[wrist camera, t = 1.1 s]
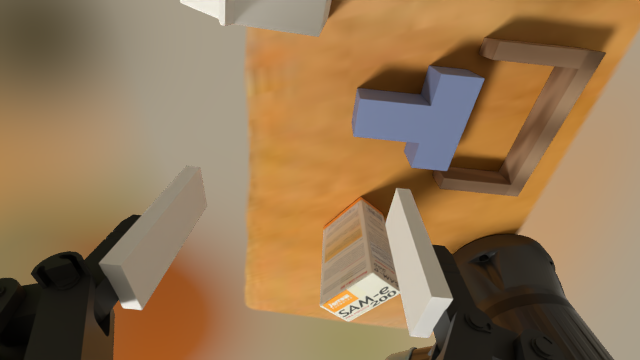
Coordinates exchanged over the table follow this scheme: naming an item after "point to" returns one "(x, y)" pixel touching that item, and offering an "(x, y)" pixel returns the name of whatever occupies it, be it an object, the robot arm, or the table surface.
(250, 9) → the milk carton
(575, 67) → the walnut dock
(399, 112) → the slate blue t block
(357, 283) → the supplement box
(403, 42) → the table surface
